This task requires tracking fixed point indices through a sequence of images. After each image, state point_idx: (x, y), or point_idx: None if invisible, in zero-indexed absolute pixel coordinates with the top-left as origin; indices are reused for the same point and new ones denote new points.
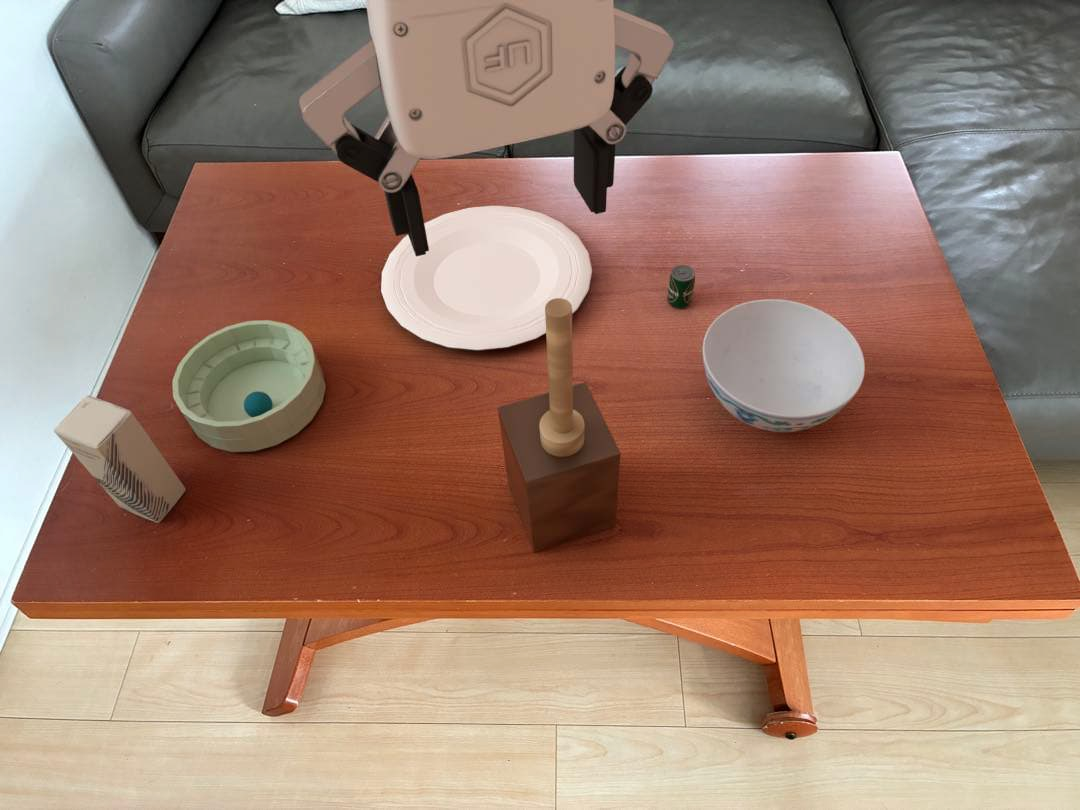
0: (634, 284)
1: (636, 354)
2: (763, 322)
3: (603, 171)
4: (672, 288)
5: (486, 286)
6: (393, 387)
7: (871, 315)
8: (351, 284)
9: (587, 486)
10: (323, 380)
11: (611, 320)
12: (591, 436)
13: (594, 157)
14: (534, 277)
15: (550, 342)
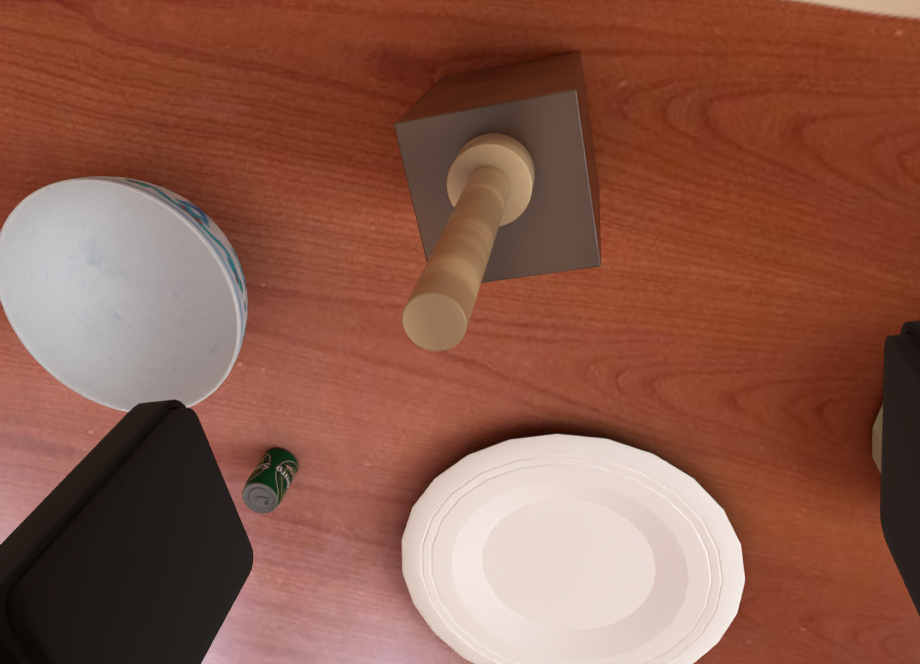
0: (343, 505)
1: (358, 383)
2: (148, 381)
3: (43, 519)
4: (283, 478)
5: (571, 551)
6: (755, 404)
7: (11, 377)
8: (788, 606)
9: (467, 96)
10: (877, 436)
11: (387, 451)
12: (440, 169)
13: (33, 580)
14: (492, 550)
15: (472, 267)
